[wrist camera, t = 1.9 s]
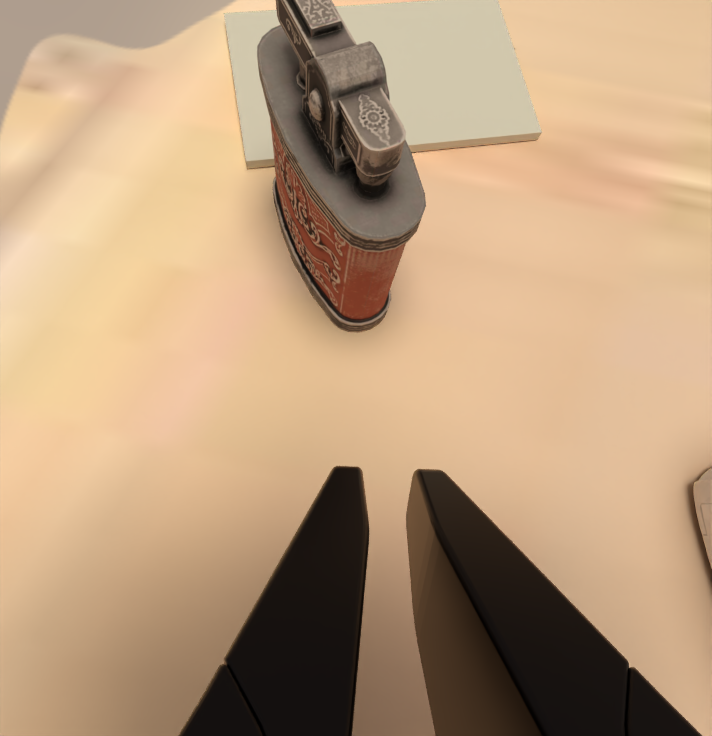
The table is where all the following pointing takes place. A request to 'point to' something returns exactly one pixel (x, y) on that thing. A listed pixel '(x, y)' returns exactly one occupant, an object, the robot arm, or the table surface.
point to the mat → (410, 73)
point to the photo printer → (704, 509)
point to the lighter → (337, 162)
